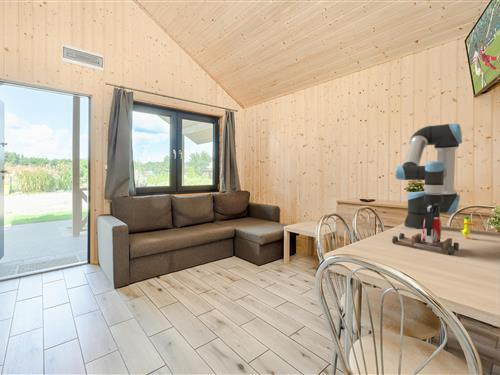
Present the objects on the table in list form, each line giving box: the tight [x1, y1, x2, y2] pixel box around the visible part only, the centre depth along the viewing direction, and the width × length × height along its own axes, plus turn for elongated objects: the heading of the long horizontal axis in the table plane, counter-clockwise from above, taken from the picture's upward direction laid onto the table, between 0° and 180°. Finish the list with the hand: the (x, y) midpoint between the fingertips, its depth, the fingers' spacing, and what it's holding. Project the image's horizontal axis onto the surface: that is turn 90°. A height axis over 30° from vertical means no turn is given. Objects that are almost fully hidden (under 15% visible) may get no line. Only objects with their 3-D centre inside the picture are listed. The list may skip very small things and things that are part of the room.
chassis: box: [391, 232, 460, 256], centre depth 127 cm, size 13×25×5 cm, turn 40°
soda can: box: [422, 217, 442, 243], centre depth 124 cm, size 7×7×12 cm
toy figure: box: [460, 216, 478, 240], centre depth 139 cm, size 7×4×12 cm, turn 48°
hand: (431, 240), depth 124 cm, fingers closed on soda can, 7 cm apart
